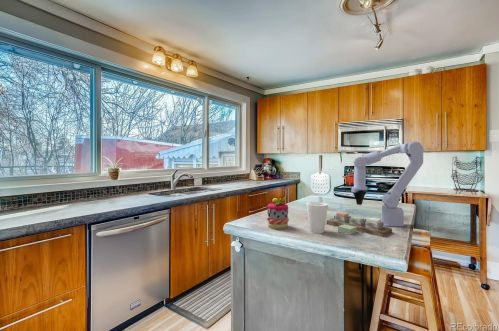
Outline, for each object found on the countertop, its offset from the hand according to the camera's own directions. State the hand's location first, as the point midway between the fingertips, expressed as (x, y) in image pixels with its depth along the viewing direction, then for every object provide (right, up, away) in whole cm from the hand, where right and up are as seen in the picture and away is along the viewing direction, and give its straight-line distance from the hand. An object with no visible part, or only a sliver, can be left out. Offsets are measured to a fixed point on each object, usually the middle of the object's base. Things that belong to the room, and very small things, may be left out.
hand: (359, 204), depth 136 cm
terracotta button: (-11, -7, -5) cm, 14 cm away
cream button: (-1, -7, -17) cm, 19 cm away
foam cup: (-27, -10, -17) cm, 34 cm away
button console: (-6, -10, -11) cm, 16 cm away
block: (-13, -10, -18) cm, 24 cm away
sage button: (-6, -8, -11) cm, 15 cm away
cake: (-45, -10, -9) cm, 47 cm away
